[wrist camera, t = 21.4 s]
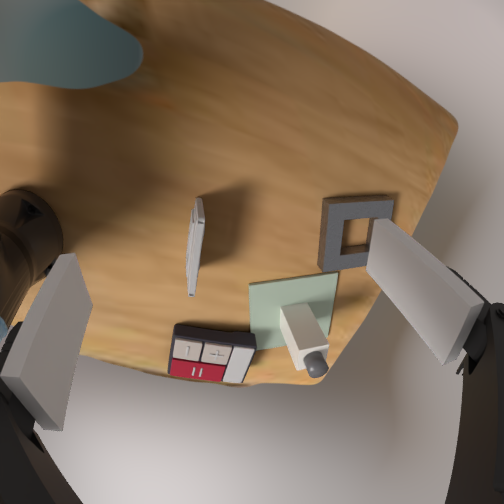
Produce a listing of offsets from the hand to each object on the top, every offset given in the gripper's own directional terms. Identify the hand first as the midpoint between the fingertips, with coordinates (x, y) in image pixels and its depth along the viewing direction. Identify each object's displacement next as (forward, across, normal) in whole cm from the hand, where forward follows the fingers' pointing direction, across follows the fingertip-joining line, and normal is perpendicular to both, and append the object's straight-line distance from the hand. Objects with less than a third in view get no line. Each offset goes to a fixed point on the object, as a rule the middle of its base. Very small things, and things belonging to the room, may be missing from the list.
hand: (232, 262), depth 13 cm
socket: (+32, +24, -16) cm, 43 cm away
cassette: (+32, -2, -14) cm, 35 cm away
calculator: (+32, -2, -38) cm, 49 cm away
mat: (+32, +14, -32) cm, 47 cm away
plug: (+31, +14, -32) cm, 47 cm away
